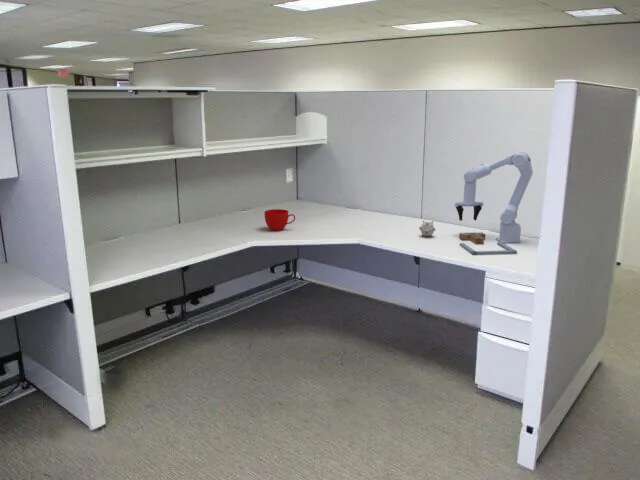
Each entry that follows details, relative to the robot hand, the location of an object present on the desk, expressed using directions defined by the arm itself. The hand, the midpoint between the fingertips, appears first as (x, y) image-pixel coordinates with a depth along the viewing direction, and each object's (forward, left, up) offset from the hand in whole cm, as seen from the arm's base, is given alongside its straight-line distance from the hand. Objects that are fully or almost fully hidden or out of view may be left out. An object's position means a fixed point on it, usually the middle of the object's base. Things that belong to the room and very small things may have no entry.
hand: (467, 220), depth 280 cm
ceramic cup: (+96, -24, -9) cm, 99 cm away
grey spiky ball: (+21, -1, -9) cm, 23 cm away
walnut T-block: (0, +11, -8) cm, 14 cm away
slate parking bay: (0, +26, -8) cm, 28 cm away
